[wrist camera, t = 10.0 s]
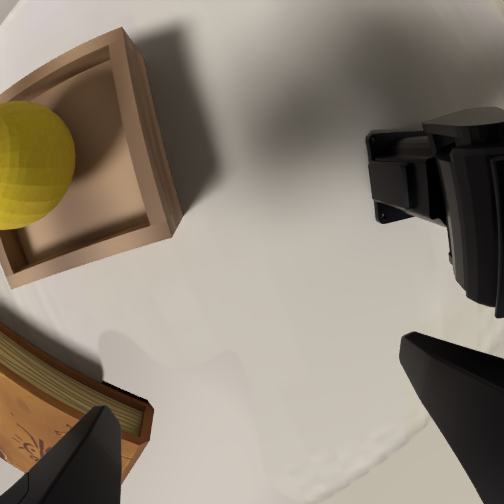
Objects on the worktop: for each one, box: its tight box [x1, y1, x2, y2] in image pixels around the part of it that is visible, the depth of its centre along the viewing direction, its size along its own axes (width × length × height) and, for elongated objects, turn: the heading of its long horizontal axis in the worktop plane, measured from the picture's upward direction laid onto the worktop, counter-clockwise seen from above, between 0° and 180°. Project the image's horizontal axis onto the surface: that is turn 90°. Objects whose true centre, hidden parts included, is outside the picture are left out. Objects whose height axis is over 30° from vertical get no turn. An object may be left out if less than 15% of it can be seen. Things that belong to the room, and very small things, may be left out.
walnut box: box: [0, 27, 183, 289], centre depth 14 cm, size 11×11×6 cm
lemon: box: [0, 101, 76, 230], centre depth 9 cm, size 6×6×8 cm
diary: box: [0, 322, 154, 484], centre depth 20 cm, size 23×19×6 cm
